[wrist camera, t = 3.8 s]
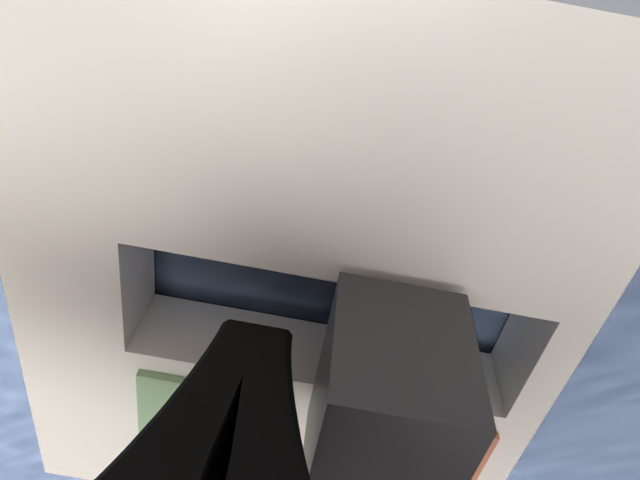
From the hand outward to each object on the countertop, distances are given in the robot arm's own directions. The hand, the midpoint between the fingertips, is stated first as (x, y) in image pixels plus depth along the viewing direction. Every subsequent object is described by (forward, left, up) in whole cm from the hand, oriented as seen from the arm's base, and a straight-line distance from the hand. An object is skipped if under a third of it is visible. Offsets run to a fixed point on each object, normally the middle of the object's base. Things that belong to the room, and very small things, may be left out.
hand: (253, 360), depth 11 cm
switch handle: (-2, 0, -3) cm, 4 cm away
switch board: (0, 0, -3) cm, 3 cm away
